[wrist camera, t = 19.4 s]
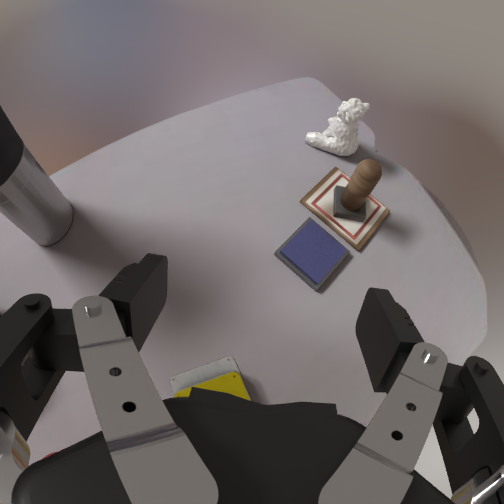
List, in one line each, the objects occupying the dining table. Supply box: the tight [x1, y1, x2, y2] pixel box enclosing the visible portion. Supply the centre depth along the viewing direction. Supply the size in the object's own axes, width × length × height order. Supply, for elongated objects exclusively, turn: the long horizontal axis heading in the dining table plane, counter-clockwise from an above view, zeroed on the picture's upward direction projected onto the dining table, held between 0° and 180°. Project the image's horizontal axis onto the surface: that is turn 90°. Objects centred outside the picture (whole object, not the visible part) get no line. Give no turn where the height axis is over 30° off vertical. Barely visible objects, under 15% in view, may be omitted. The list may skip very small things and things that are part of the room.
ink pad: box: [274, 217, 350, 291], centre depth 45 cm, size 8×8×2 cm
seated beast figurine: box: [305, 98, 370, 156], centre depth 49 cm, size 10×9×12 cm
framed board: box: [300, 167, 389, 251], centre depth 49 cm, size 12×10×1 cm
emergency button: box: [170, 357, 252, 401], centre depth 35 cm, size 9×4×15 cm
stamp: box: [333, 159, 382, 222], centre depth 43 cm, size 5×5×11 cm
